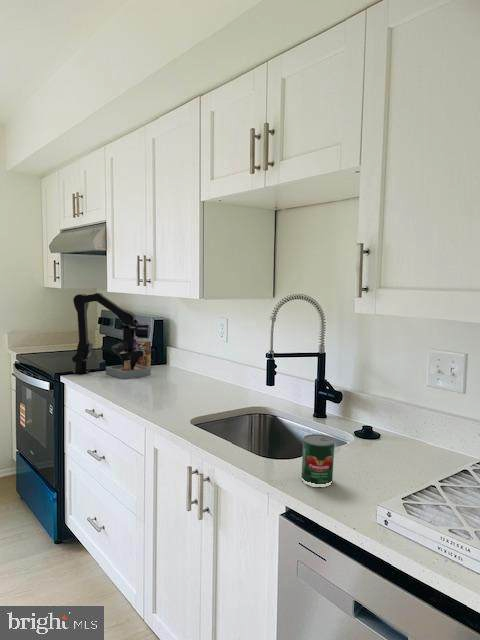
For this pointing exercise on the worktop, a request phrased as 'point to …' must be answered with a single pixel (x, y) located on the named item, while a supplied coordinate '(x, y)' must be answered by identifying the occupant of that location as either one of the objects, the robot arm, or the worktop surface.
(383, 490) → the worktop surface
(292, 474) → the worktop surface
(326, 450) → the canned tomato
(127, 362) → the peg
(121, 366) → the bin
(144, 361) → the candy box
